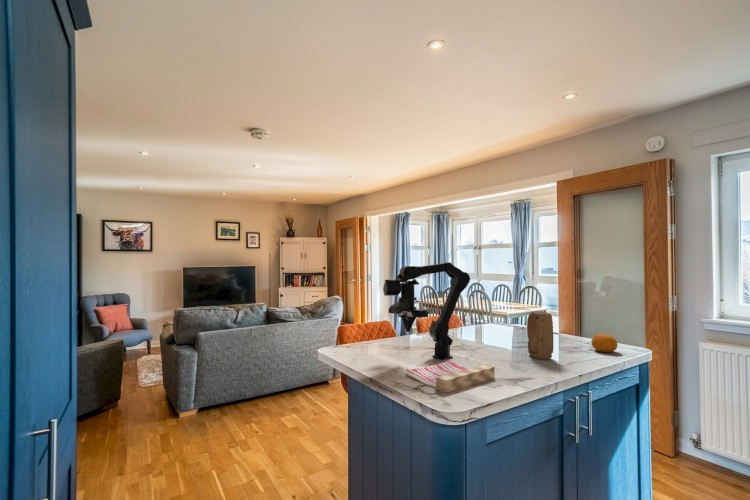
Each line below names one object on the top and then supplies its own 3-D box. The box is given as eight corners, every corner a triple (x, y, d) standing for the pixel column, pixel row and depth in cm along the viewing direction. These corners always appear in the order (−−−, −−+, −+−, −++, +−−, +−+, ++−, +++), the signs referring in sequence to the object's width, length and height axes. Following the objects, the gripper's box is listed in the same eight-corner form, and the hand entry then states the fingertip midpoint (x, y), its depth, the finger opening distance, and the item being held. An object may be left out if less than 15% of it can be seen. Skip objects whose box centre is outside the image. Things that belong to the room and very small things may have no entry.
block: (555, 360, 161) (554, 313, 162) (539, 361, 160) (539, 313, 160) (539, 353, 172) (539, 310, 172) (524, 354, 170) (524, 310, 171)
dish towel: (481, 378, 138) (481, 368, 138) (435, 390, 125) (435, 379, 125) (448, 367, 152) (448, 358, 152) (403, 376, 139) (403, 367, 139)
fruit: (623, 353, 173) (623, 336, 173) (602, 354, 171) (602, 336, 171) (606, 348, 183) (606, 332, 183) (586, 349, 182) (586, 332, 182)
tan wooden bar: (485, 375, 140) (485, 364, 140) (494, 378, 136) (494, 366, 137) (436, 389, 124) (436, 377, 124) (445, 393, 121) (445, 380, 121)
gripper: (379, 294, 163) (379, 330, 163) (409, 298, 149) (409, 337, 149) (398, 293, 171) (398, 327, 170) (428, 296, 156) (429, 334, 156)
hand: (407, 331), depth 161 cm, fingers closed
